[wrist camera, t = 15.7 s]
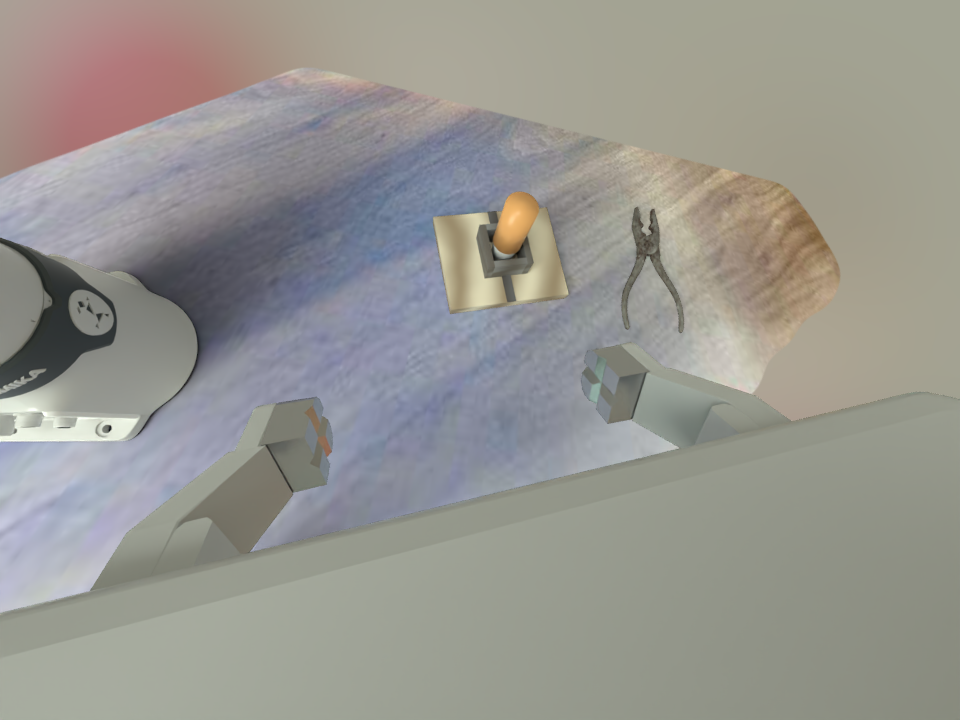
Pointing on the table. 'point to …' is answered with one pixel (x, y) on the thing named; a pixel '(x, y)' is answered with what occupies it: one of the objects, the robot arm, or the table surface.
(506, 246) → the orange rounded handle
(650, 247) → the pliers
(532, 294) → the cream rectangular base board
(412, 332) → the table surface
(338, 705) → the robot arm
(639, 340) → the table surface
